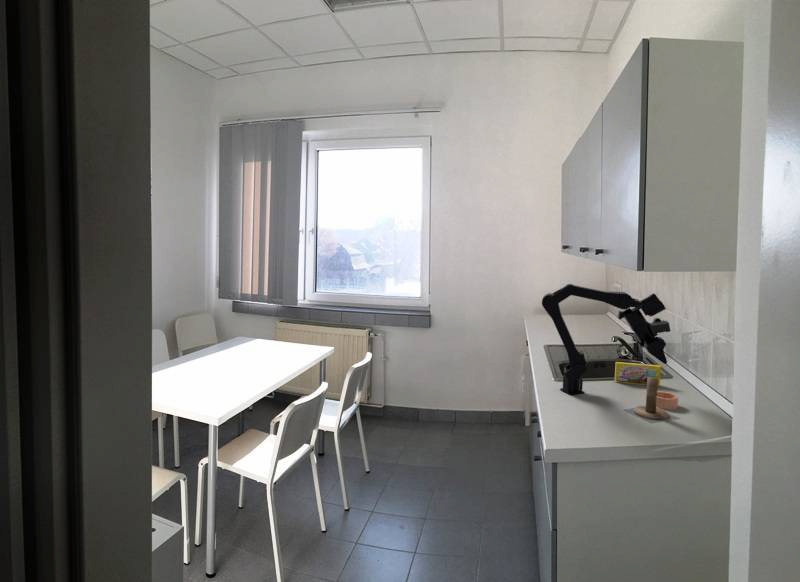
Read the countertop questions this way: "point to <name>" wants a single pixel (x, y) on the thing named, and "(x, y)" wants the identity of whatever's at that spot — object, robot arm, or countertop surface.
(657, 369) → the candy box
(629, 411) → the grey rubber mat
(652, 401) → the walnut cover
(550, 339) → the countertop surface
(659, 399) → the terracotta bowl
